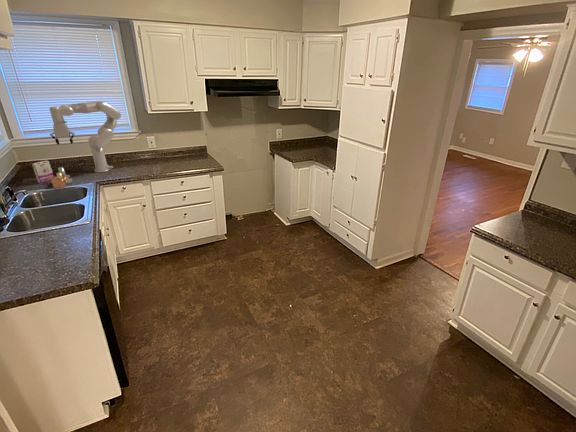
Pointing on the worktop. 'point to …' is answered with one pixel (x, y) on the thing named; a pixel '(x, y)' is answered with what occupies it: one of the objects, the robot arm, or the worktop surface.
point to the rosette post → (61, 182)
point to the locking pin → (59, 175)
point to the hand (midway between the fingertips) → (65, 143)
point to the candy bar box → (43, 171)
